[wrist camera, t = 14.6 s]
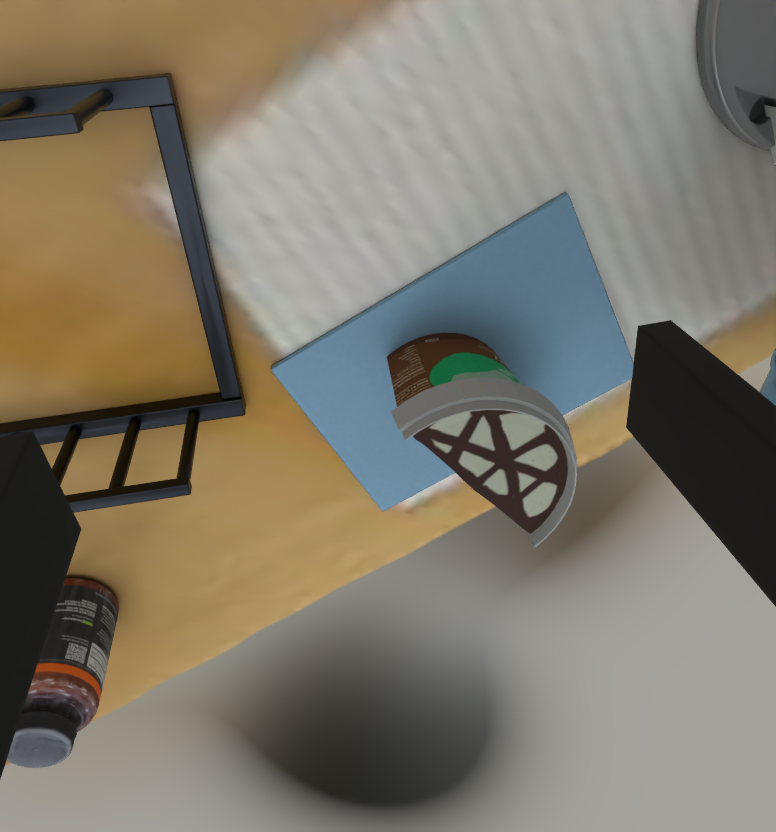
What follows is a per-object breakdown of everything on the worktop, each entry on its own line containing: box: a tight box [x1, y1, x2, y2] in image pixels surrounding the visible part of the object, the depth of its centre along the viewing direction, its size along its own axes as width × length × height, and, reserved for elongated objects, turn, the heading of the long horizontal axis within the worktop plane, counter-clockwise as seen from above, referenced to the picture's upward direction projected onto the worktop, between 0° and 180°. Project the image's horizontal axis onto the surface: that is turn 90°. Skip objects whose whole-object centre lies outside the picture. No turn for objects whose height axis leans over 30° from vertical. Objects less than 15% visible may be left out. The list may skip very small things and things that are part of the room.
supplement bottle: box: [7, 578, 119, 768], centre depth 44 cm, size 6×6×11 cm
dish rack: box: [0, 73, 246, 513], centre depth 32 cm, size 20×19×9 cm
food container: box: [387, 333, 577, 547], centre depth 38 cm, size 12×6×10 cm, turn 43°
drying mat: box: [271, 193, 634, 511], centre depth 43 cm, size 20×14×1 cm
